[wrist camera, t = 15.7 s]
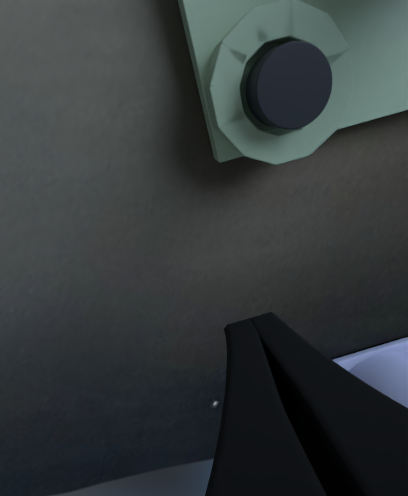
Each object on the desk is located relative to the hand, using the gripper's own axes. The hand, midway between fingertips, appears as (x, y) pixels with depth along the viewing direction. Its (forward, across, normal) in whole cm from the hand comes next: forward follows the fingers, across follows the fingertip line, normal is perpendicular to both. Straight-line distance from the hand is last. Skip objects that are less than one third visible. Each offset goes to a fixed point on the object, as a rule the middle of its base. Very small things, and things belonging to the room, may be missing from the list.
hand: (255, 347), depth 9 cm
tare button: (+8, -4, -6) cm, 11 cm away
